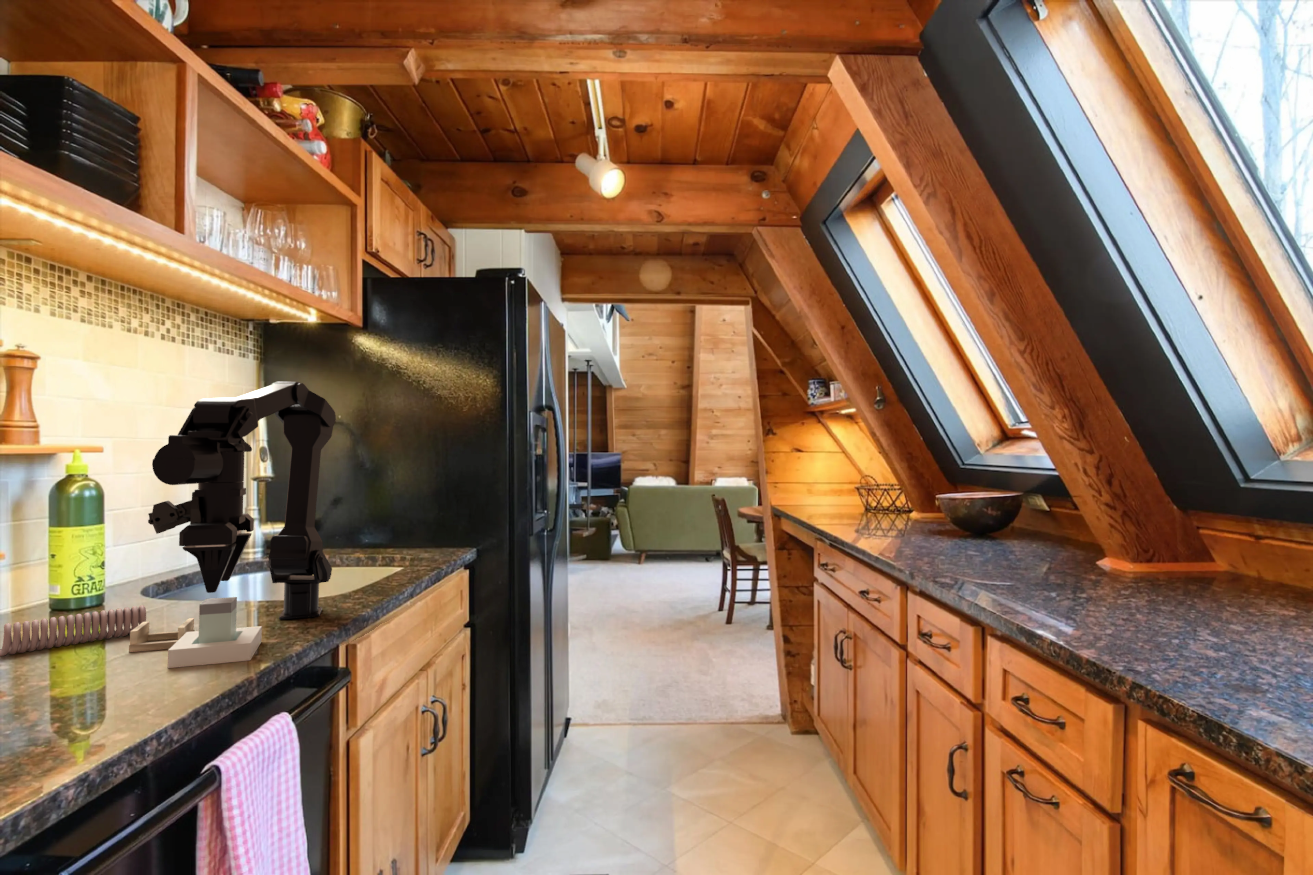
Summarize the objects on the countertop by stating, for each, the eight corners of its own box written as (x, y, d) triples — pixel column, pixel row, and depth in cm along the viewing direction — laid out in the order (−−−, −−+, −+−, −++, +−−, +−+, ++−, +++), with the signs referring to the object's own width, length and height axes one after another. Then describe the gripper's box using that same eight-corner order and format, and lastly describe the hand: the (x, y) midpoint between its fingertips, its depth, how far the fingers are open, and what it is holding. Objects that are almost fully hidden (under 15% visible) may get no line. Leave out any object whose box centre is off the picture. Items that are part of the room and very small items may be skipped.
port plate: (186, 648, 102) (187, 631, 102) (261, 641, 106) (261, 625, 106) (167, 668, 93) (168, 650, 93) (250, 660, 97) (250, 642, 97)
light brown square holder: (143, 640, 106) (144, 621, 106) (194, 635, 109) (194, 617, 109) (128, 652, 100) (129, 632, 100) (183, 647, 103) (183, 627, 103)
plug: (204, 651, 101) (206, 598, 101) (235, 649, 102) (236, 596, 102) (198, 659, 97) (199, 604, 97) (230, 656, 98) (231, 602, 99)
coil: (144, 603, 113) (-4, 623, 100) (152, 604, 110) (0, 625, 97) (144, 631, 113) (-5, 655, 99) (152, 633, 110) (-1, 658, 96)
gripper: (174, 479, 105) (171, 578, 105) (134, 485, 88) (131, 603, 88) (255, 479, 110) (253, 574, 109) (232, 484, 93) (229, 597, 92)
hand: (218, 586), depth 100 cm, fingers open, 9 cm apart
